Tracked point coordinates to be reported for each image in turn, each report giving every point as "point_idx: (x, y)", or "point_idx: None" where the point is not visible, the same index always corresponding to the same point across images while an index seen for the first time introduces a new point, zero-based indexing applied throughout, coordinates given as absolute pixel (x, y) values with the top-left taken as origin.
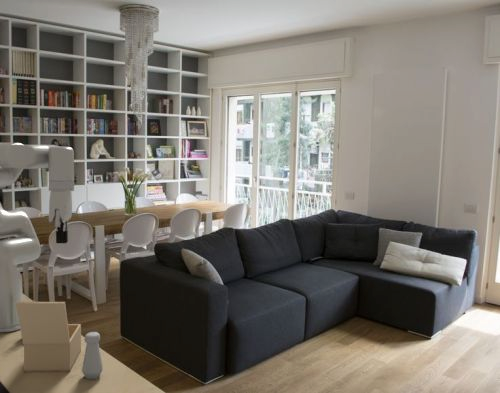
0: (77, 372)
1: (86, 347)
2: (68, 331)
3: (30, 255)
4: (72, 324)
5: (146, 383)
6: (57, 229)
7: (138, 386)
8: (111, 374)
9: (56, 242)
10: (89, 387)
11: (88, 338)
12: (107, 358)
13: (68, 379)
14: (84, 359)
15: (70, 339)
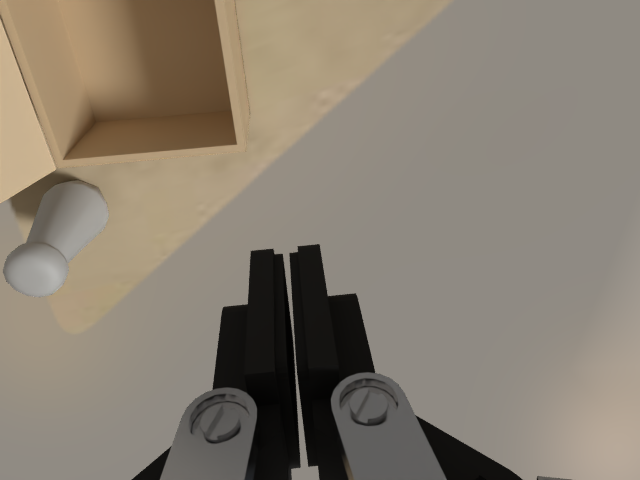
0: None
1: (33, 236)
2: (10, 195)
3: None
4: (238, 118)
5: (85, 328)
6: (162, 456)
7: (65, 316)
8: (108, 244)
9: (253, 253)
10: (18, 209)
11: (3, 270)
12: (206, 209)
13: None
14: (42, 211)
15: (86, 160)
